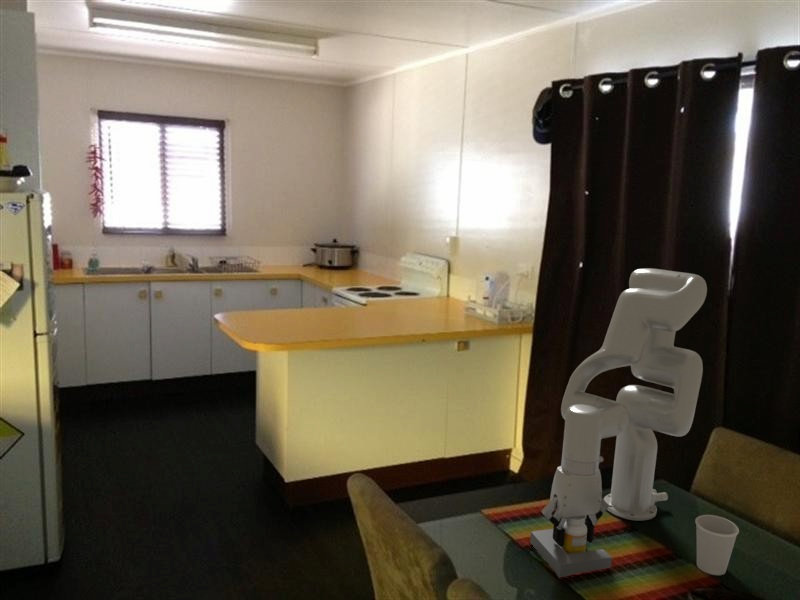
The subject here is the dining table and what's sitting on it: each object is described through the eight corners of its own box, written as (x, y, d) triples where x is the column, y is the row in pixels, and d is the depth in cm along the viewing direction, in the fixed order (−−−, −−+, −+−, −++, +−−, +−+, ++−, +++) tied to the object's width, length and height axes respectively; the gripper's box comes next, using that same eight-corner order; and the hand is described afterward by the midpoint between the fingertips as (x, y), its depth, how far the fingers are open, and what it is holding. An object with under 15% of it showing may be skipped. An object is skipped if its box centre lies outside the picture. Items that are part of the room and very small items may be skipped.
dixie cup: (711, 553, 147) (717, 512, 145) (742, 575, 139) (748, 531, 137) (681, 559, 144) (686, 517, 142) (710, 582, 136) (716, 537, 135)
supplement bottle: (555, 549, 146) (559, 508, 144) (579, 549, 147) (583, 508, 145) (563, 563, 141) (567, 521, 139) (588, 563, 142) (592, 521, 140)
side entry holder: (577, 537, 151) (578, 525, 151) (610, 570, 139) (611, 557, 139) (530, 543, 148) (531, 531, 148) (559, 578, 136) (560, 565, 135)
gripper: (605, 452, 146) (598, 527, 149) (534, 459, 141) (528, 536, 144) (626, 467, 139) (617, 545, 142) (551, 475, 134) (545, 556, 137)
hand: (572, 540), depth 143 cm, fingers open, 6 cm apart
